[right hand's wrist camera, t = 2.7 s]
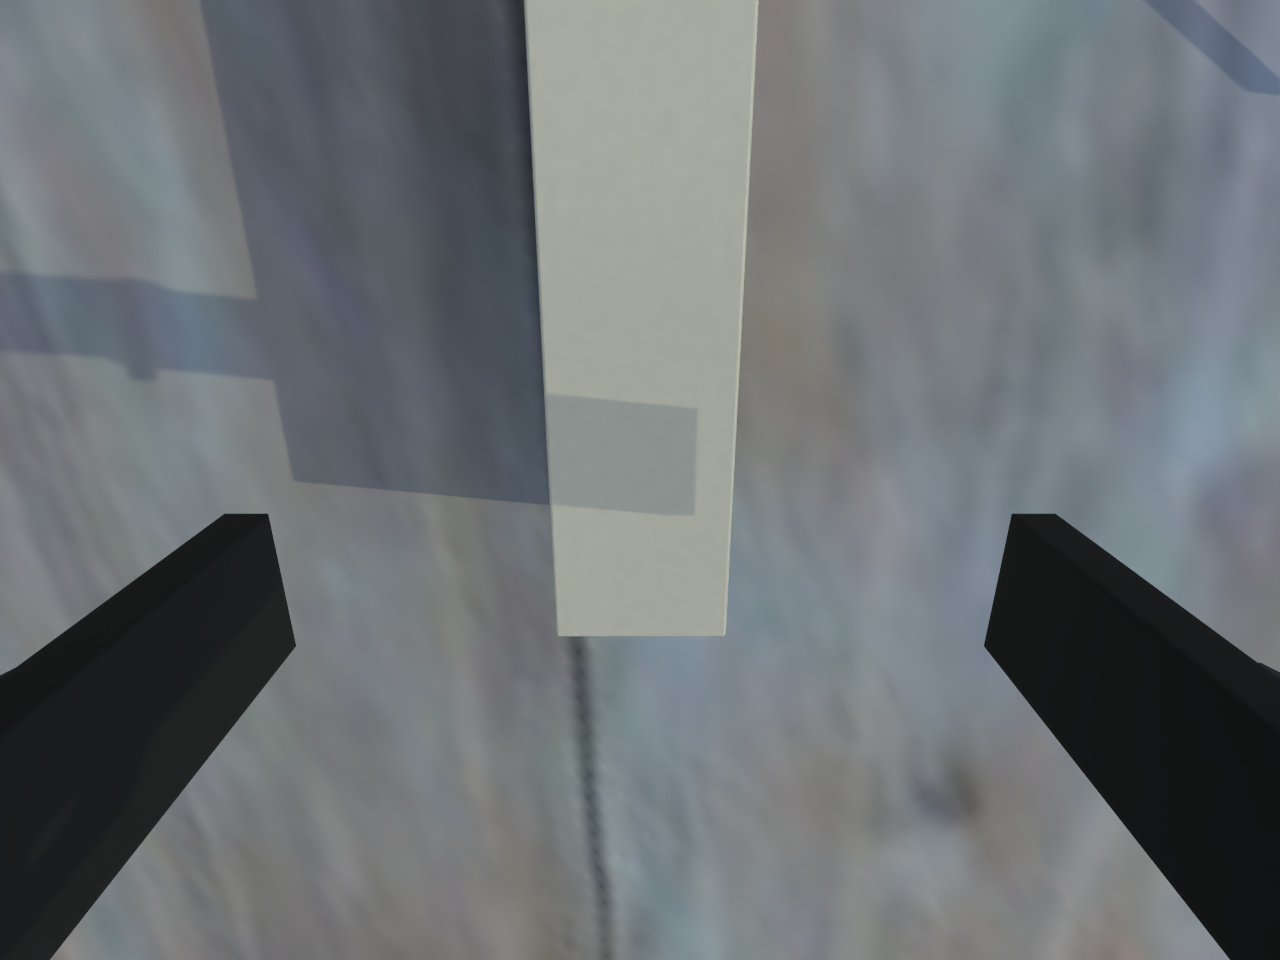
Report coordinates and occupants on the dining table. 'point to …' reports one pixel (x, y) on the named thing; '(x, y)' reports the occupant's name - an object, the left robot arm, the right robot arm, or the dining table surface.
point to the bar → (641, 300)
